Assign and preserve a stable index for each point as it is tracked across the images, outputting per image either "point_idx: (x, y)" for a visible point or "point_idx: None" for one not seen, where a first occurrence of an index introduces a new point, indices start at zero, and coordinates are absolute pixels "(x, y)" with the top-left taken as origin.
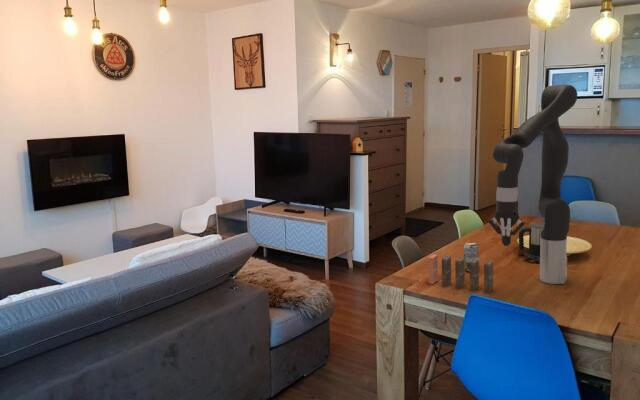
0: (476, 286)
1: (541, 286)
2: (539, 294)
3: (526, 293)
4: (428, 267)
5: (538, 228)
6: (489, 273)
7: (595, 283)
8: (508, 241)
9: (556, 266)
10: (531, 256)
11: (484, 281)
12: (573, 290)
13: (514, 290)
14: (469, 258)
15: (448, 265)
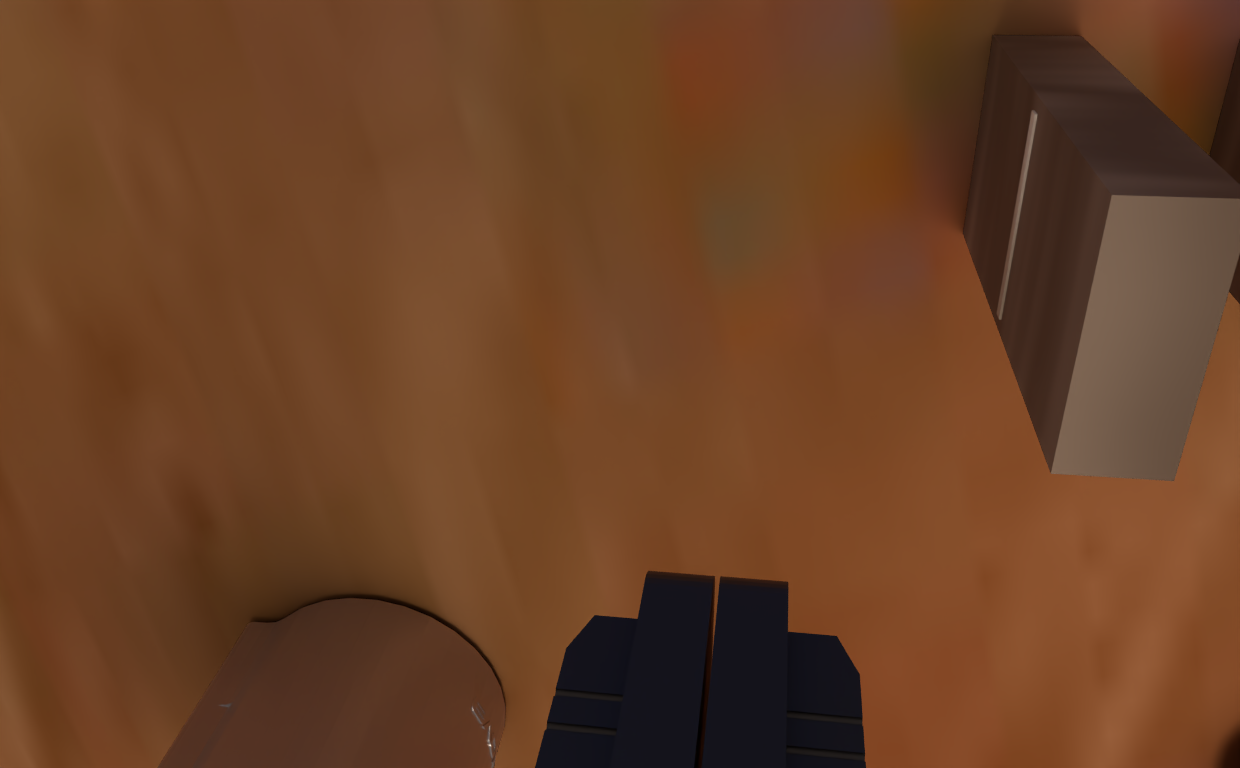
0: (1232, 138)
1: (425, 505)
2: (358, 241)
3: (506, 217)
4: None
5: None
6: (1063, 128)
7: (37, 714)
8: (608, 701)
9: (221, 764)
10: None
11: (1123, 82)
12: (109, 489)
13: (672, 271)
14: None
15: None
